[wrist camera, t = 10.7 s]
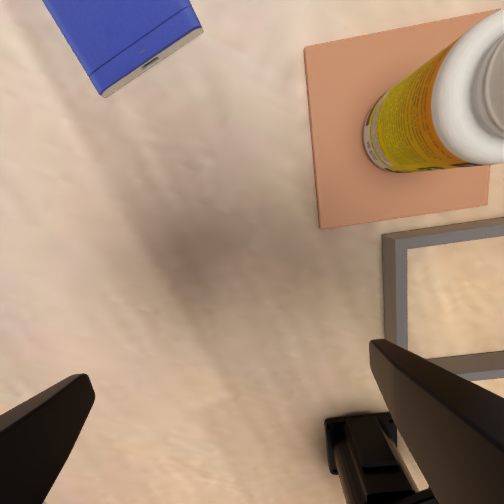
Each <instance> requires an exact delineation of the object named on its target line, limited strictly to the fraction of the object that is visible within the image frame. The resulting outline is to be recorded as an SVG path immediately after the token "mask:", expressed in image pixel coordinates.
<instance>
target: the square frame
mask: <svg viewBox="0 0 504 504" xmlns="http://www.w3.org/2000/svg"><path fill="white" fill-rule="evenodd" d="M499 236H504V217H501V218H494V219H487V220H480V221H473V222H466V223H459V224H452V225H445V226H438V227H431V228H424V229H417V230H410V231H403V232H396V233H389V234H382V251H383V285H384V319H385V339H386V340H388V341H390V342H392V343H394V344H396V345H398V346H400V347H402V348H404V349H406V350H408V334H407V249H412V248H419V247H426V246H433V245H441V244H448V243H455V242H462V241H470V240H477V239H484V238H491V237H499ZM426 360H428V361H430V362H432V363H434V364H436V365H438V366H440V367H442V368H444V369H446V370H448V371H450V372H452V373H454V374H456V375H458V376H460V377H462V378H464V379H466V380H468V381H477V380H487V379H497V378H504V351H499V352H490V353H481V354H472V355H462V356H453V357H444V358H435V359H426Z"/></svg>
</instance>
